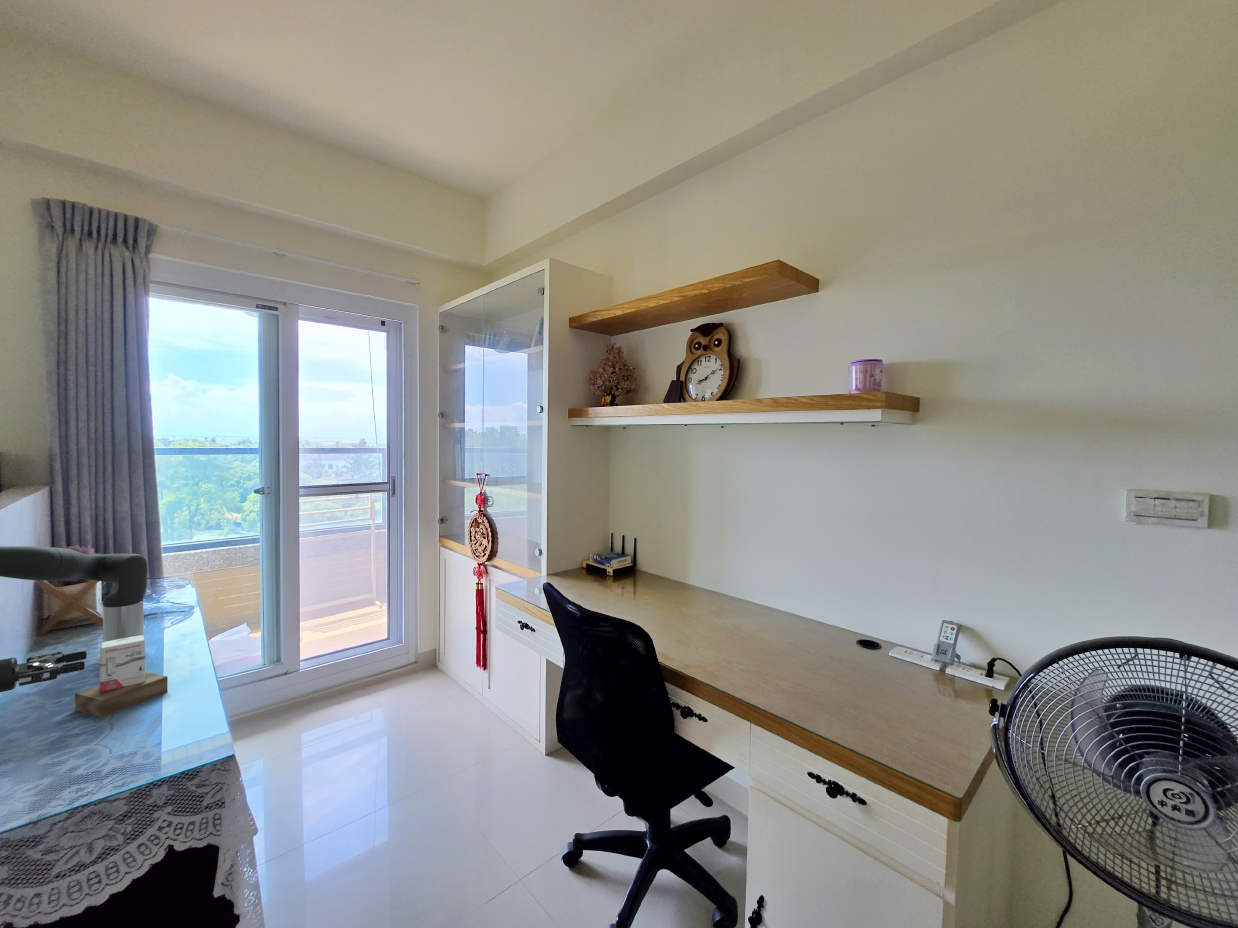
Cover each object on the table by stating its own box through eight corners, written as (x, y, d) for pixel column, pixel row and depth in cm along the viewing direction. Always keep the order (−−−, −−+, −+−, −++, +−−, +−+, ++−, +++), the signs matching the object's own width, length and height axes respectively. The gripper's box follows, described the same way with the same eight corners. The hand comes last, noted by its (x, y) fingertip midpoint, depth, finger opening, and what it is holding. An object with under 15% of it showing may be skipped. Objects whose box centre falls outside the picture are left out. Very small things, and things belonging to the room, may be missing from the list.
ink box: (99, 692, 128) (99, 647, 127) (99, 686, 131) (99, 642, 131) (145, 682, 134) (145, 639, 134) (144, 676, 137) (144, 634, 137)
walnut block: (75, 711, 128) (75, 692, 127) (141, 687, 141) (141, 670, 141) (102, 719, 124) (102, 700, 124) (167, 693, 138) (167, 676, 137)
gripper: (-23, 673, 111) (83, 653, 122) (-11, 653, 121) (87, 637, 132) (-23, 706, 111) (84, 683, 123) (-10, 684, 121) (87, 665, 133)
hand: (85, 659), depth 127 cm, fingers open, 8 cm apart
